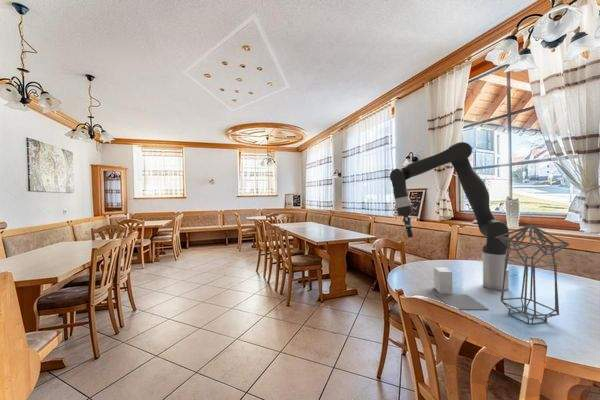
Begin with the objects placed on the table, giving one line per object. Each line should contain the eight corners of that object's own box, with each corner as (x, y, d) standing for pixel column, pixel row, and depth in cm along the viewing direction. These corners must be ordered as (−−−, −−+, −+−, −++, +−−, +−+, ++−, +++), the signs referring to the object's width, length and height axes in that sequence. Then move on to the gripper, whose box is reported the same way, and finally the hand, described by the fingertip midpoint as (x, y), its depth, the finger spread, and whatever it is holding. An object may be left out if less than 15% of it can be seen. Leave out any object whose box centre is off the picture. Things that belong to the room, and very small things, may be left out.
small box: (452, 294, 116) (452, 272, 116) (439, 293, 117) (439, 271, 117) (446, 288, 124) (446, 267, 124) (434, 287, 125) (433, 266, 125)
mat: (466, 295, 115) (466, 294, 115) (488, 310, 100) (488, 309, 100) (435, 294, 116) (435, 294, 116) (452, 309, 101) (452, 308, 101)
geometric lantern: (524, 307, 102) (527, 222, 100) (570, 329, 86) (574, 228, 85) (490, 310, 100) (492, 223, 98) (530, 332, 84) (534, 229, 83)
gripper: (411, 204, 123) (419, 236, 121) (411, 205, 136) (417, 234, 134) (395, 207, 126) (402, 239, 124) (396, 207, 139) (403, 236, 137)
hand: (410, 236), depth 129 cm, fingers open, 8 cm apart
